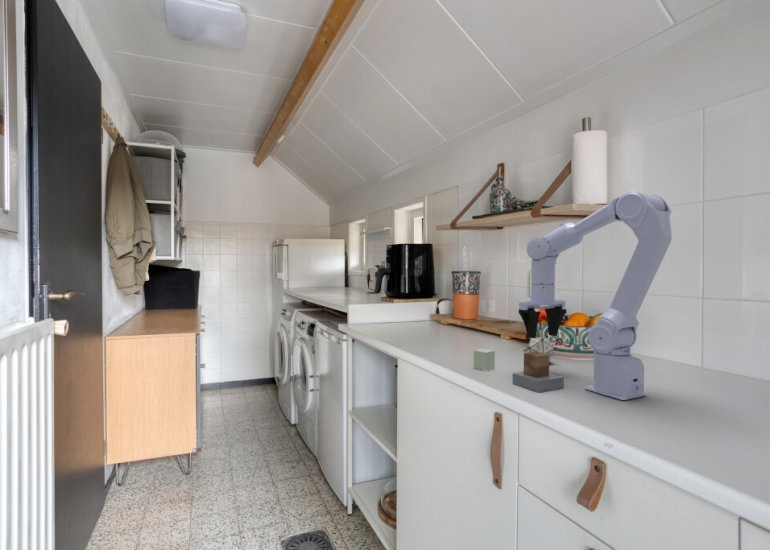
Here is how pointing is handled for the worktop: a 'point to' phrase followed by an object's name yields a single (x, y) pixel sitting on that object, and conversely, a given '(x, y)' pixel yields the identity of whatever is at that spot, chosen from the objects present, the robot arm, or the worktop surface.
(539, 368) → the walnut block
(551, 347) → the game die
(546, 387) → the slate tile
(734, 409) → the worktop surface
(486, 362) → the sage block
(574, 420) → the worktop surface
